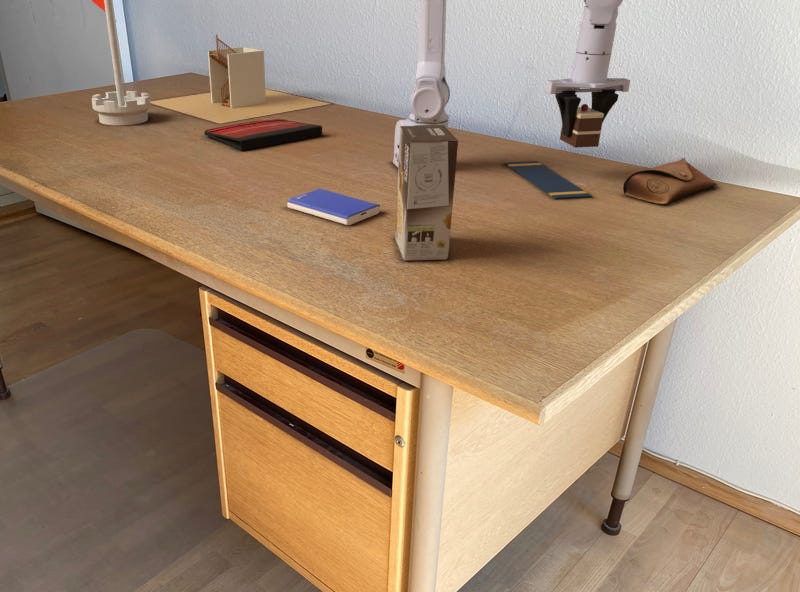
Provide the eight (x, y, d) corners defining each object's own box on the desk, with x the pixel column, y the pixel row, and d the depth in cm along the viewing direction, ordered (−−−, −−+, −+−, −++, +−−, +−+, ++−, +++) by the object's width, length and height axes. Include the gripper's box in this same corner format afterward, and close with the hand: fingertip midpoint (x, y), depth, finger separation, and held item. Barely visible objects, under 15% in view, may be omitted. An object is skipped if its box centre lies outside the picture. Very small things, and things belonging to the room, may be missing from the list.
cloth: (555, 199, 124) (555, 197, 124) (504, 164, 142) (505, 162, 142) (591, 197, 125) (591, 195, 125) (536, 162, 144) (536, 160, 143)
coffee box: (449, 260, 100) (460, 140, 92) (403, 261, 100) (409, 141, 92) (436, 236, 108) (445, 123, 100) (392, 237, 108) (398, 124, 100)
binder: (322, 124, 159) (240, 139, 148) (322, 135, 161) (241, 151, 149) (278, 115, 170) (199, 128, 159) (279, 125, 172) (200, 139, 160)
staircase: (211, 103, 191) (205, 33, 182) (245, 97, 197) (242, 29, 189) (231, 108, 185) (226, 36, 177) (265, 102, 192) (263, 33, 183)
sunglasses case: (668, 204, 120) (656, 164, 120) (630, 215, 126) (618, 178, 125) (720, 184, 130) (710, 147, 130) (683, 195, 136) (673, 160, 136)
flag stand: (164, 118, 175) (148, -25, 160) (122, 129, 165) (102, -23, 150) (124, 111, 181) (106, -27, 166) (82, 121, 171) (59, -25, 156)
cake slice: (575, 147, 129) (581, 107, 126) (559, 139, 134) (565, 100, 131) (598, 146, 130) (605, 107, 126) (582, 138, 135) (588, 100, 132)
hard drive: (287, 199, 118) (347, 216, 111) (321, 187, 123) (380, 203, 116) (287, 208, 119) (346, 226, 112) (321, 196, 124) (379, 213, 117)
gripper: (564, 57, 120) (551, 142, 127) (645, 55, 122) (629, 138, 129) (545, 51, 126) (534, 132, 133) (623, 49, 128) (608, 129, 135)
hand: (579, 135), depth 131 cm, fingers closed on cake slice, 4 cm apart
